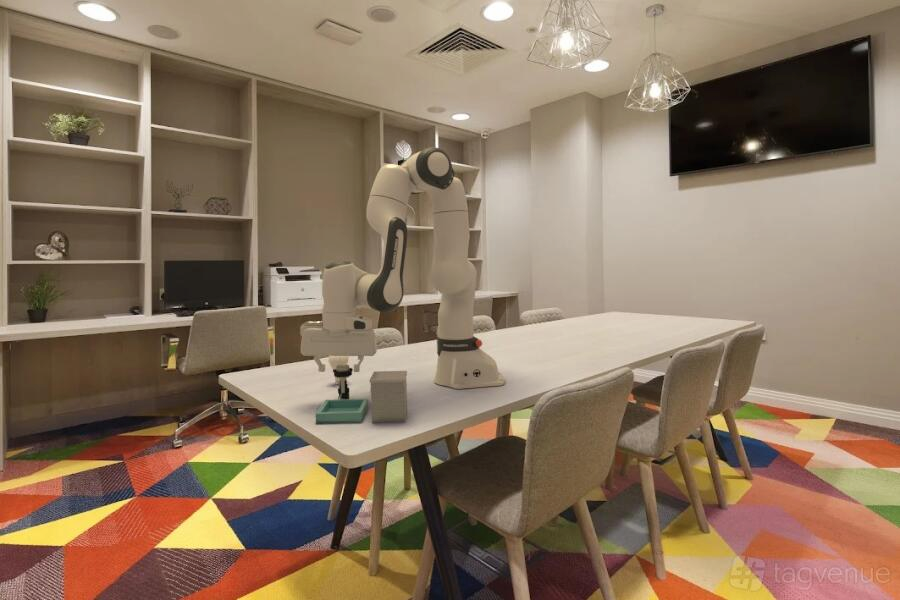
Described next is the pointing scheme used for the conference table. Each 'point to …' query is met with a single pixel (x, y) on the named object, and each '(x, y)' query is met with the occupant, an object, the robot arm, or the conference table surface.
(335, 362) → the lightbulb
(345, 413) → the parts tray
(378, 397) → the box
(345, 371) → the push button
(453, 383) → the robot arm
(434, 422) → the conference table surface
